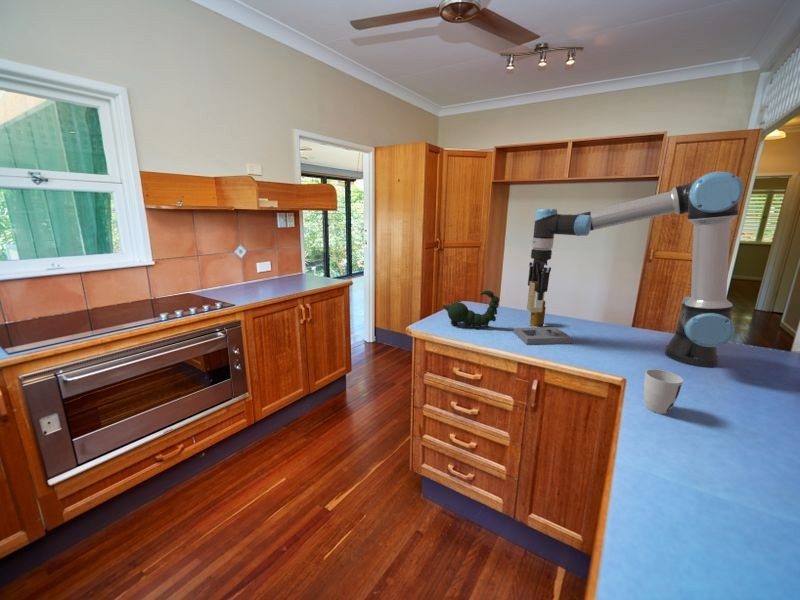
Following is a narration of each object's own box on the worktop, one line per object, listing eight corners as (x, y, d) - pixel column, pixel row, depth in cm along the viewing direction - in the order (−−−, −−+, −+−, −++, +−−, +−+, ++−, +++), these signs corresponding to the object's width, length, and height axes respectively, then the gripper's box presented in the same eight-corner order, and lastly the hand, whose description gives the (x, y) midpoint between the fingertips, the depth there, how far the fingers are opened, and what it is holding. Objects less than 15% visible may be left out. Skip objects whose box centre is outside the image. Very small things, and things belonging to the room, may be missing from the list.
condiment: (526, 323, 167) (528, 298, 164) (542, 322, 168) (545, 298, 165) (534, 328, 160) (537, 302, 157) (551, 327, 161) (554, 302, 158)
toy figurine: (493, 329, 162) (440, 319, 168) (500, 290, 157) (446, 281, 163) (493, 335, 154) (437, 325, 159) (501, 295, 148) (443, 285, 154)
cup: (676, 420, 90) (685, 386, 88) (639, 411, 94) (646, 377, 92) (673, 406, 97) (680, 373, 94) (638, 398, 101) (644, 366, 98)
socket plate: (571, 343, 142) (572, 337, 141) (526, 344, 140) (527, 338, 139) (554, 332, 154) (555, 327, 153) (513, 333, 152) (514, 327, 152)
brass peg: (542, 312, 141) (545, 283, 138) (531, 312, 141) (534, 283, 138) (536, 309, 146) (540, 281, 143) (526, 309, 145) (529, 281, 142)
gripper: (523, 246, 145) (517, 300, 151) (543, 251, 128) (536, 312, 134) (540, 246, 146) (533, 300, 152) (562, 251, 129) (554, 311, 135)
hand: (534, 305), depth 143 cm, fingers closed on brass peg, 4 cm apart
